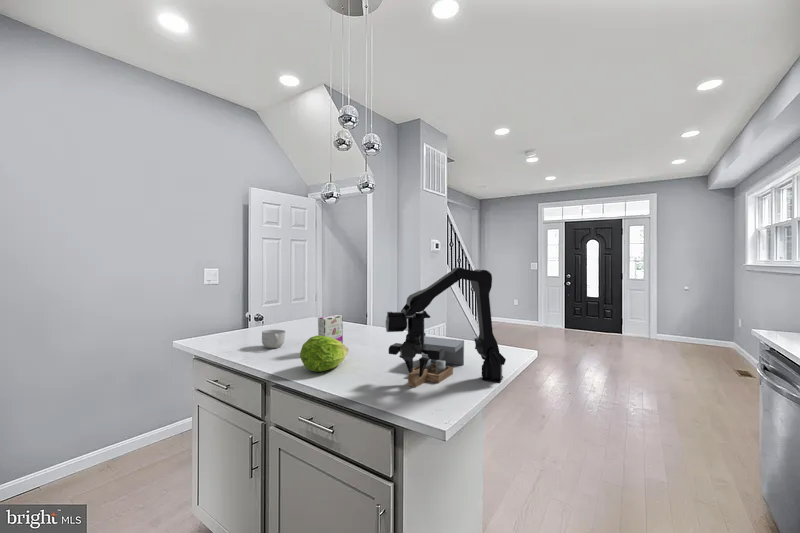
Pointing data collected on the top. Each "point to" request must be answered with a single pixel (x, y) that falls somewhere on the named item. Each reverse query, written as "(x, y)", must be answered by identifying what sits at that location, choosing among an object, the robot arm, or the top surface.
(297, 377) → the top surface
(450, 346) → the grey piece
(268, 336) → the teacup
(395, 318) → the robot arm
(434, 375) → the walnut tray
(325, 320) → the candy bar box
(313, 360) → the lettuce
